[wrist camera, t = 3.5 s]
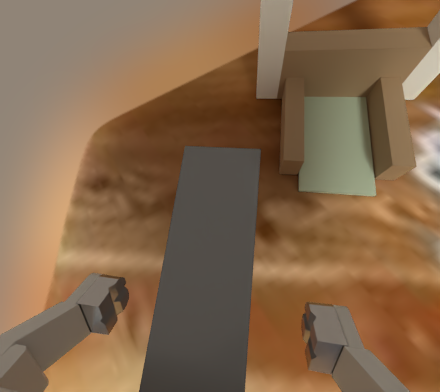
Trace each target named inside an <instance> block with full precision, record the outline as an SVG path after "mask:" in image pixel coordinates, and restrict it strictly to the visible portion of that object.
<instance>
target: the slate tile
mask: <svg viewBox="0 0 440 392" xmlns="http://www.w3.org/2000/svg"><path fill="white" fill-rule="evenodd" d="M260 155H261V149H246V148H222V147H198V146H185V149H184V154H183V160H182V165H181V170H180V176H179V181H178V186H177V192H176V197H175V202H174V208H173V213H172V219H171V224H170V229H169V235H168V240H167V245H166V251H165V256H164V261H163V267H162V272H161V277H160V283H159V288H158V293H157V299H156V304H155V309H154V315H153V320H152V326H151V331H150V336H149V342H148V347H147V352H146V358H145V363H144V368H143V374H142V379H141V384H140V390H139V392H245V379H246V364H247V349H248V334H249V319H250V305H251V290H252V275H253V260H254V245H255V230H256V215H257V200H258V185H259V170H260Z"/></svg>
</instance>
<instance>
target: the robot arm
mask: <svg viewBox="0 0 440 392" xmlns="http://www.w3.org/2000/svg"><path fill="white" fill-rule="evenodd" d="M125 284H126V281H125V278H123V277H117V276H111V275H105V274H98V273H92V274H90V275H89V276H88V277H87V278H86V279H85V280H84V281H83V282H82V283H81V285H80V286H79V287H78V288H77V289H76V290H75V291H74V292H73V293H72V294H71V296H70V297H69V298H68V299H67V300H66V301H65V302H60V303H58V304H56V305H55V306H53V307H51V308H49V309H47V310H45V311H43V312H42V313H40V314H38V315H36V316H34V317H32V318H31V319H29V320H27V321H25V322H23V323H22V324H19V325H18V326H16V327H14V328H13V329H10V330H8V331H7V332H5V333H3V334H1V335H0V392H43V391H44V390H45V388H46V387H47V386H48V379H47V377H46V376H45V374H44V373H43V371H45V370H46V369H47V368H48V367H50V366H51V365H52V364H53V363H55V362H56V361H57V360H58V359H60V358H61V357H62V356H63V355H65V354H66V353H67V352H68V351H69V350H71V349H72V348H73V347H74V346H76V345H77V344H78V343H79V342H81V341H82V340H83V339H84V338H86V337H87V336H88V335H89V334H90V332H92V333H99V334H107V335H109V333H110V332H111V330H112V329H113V327H114V325H115V324H116V322H117V315H118V314H120V313H121V312H123V310H124V309H125V307H126V305H127V302H128V299H129V292H128V289H127V288H126V287H124V285H125ZM305 312H306V313H305V314H303V316H302V325H301V328H302V336H303V340H304V341H305V343H306V344H307V345H306V349H305V354H306V360H307V366H308V370H312V371H317V372H322V373H327V374H332V377H333V379H334V380H335V382H336V383H337V385H338V386H339V388H340V389H341V391H342V392H410V391H409V390H408V389H407V388H406V387H405V386H404V385H403V384H402V383H401V382H400V381H399V380H398V379H397V378H396V377H395V376H394V375H393V374H392V373H391V372H390V371H389V370H388V369H387V368H386V367H385V366H384V365H383V364H382V363H381V362H380V360H379V359H378V358H377V357H376V356H375V355H374V354H373V353H372V352H371V351H370V350H367V349H364V346H363V344H362V341H361V339H360V336H359V334H358V331H357V329H356V326H355V324H354V321H353V319H352V316H351V314H350V311H349V309H348V308H347V307H345V306H337V305H332V304H324V303H315V302H306V304H305Z"/></svg>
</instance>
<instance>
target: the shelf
mask: <svg viewBox="0 0 440 392" xmlns="http://www.w3.org/2000/svg"><path fill="white" fill-rule="evenodd" d="M292 5H293V0H261V8H260V28H259V49H258V69H257V90H256V99H282V112H281V139H280V167H279V174H290V175H297V174H298V191H299V192H314V193H329V194H344V195H358V196H373V197H374V196H376V188H375V179H379V180H396V179H397V178H399V177H400V176H402V175H404V174H405V173H407V172H408V171H410V170H412V169H413V168H415V167H416V161H415V156H414V150H413V144H412V138H411V132H410V127H409V121H408V115H407V109H406V103H405V100H414V99H415V98H416V97H417V96H418V95H419V94H420V93H421V92H422V91H423V90H424V89H425V88H426V87H427V86H428V85H429V83H430V82H431V81H432V80H433V79H434V78H435V77H436V76H437V75H438V74H439V73H440V10H439V12H438V13H437V15H436V16H435V17H434V19H433V20H432V21H431V23H430V24H429V25H428V27H417V28H389V29H361V30H332V31H304V32H288V29H289V22H290V17H291V11H292Z"/></svg>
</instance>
